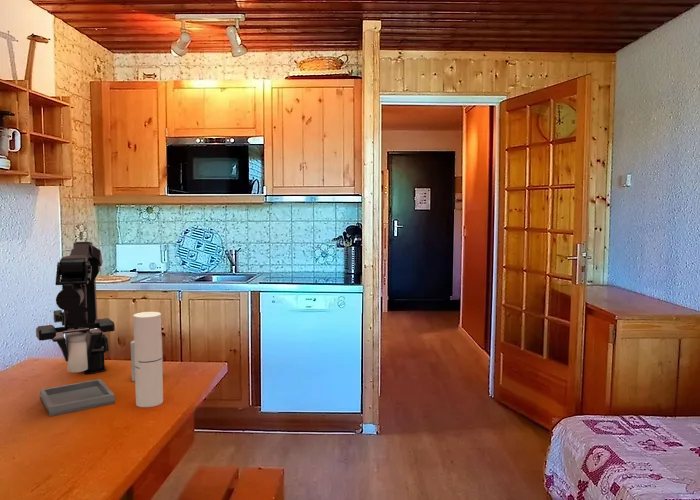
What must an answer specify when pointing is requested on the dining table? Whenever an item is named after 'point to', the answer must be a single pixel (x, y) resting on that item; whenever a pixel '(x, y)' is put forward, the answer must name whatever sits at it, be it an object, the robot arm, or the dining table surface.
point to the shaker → (77, 352)
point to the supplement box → (134, 361)
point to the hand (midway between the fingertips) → (77, 359)
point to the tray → (76, 397)
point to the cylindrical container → (148, 359)
